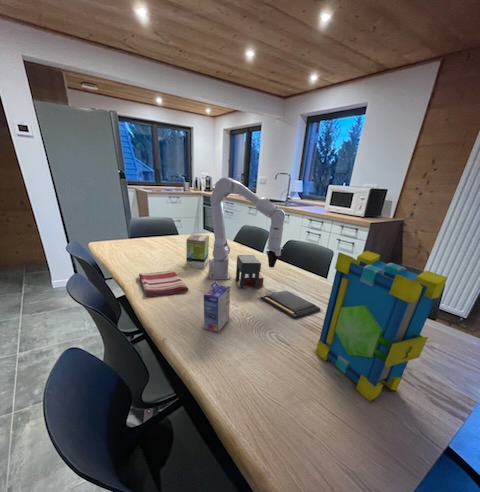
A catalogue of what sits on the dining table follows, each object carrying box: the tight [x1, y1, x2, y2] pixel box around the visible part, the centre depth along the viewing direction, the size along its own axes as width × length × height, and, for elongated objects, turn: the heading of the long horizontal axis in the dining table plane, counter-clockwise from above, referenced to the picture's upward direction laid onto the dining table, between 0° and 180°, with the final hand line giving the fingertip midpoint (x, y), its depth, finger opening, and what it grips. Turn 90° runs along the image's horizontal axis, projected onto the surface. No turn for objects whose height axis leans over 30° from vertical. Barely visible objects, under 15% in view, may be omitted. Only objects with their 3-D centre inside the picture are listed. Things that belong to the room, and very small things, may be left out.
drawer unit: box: [235, 254, 262, 290], centre depth 121 cm, size 10×12×12 cm
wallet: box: [259, 290, 321, 319], centre depth 106 cm, size 20×2×15 cm
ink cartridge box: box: [203, 280, 231, 333], centre depth 86 cm, size 10×6×14 cm, turn 161°
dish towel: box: [138, 270, 189, 298], centre depth 115 cm, size 17×23×3 cm
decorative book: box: [315, 250, 448, 402], centre depth 65 cm, size 14×23×30 cm, turn 24°
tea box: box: [185, 233, 210, 269], centre depth 142 cm, size 15×10×15 cm, turn 179°
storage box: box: [244, 273, 264, 287], centre depth 123 cm, size 9×6×4 cm, turn 101°
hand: (271, 266), depth 123 cm, fingers closed
